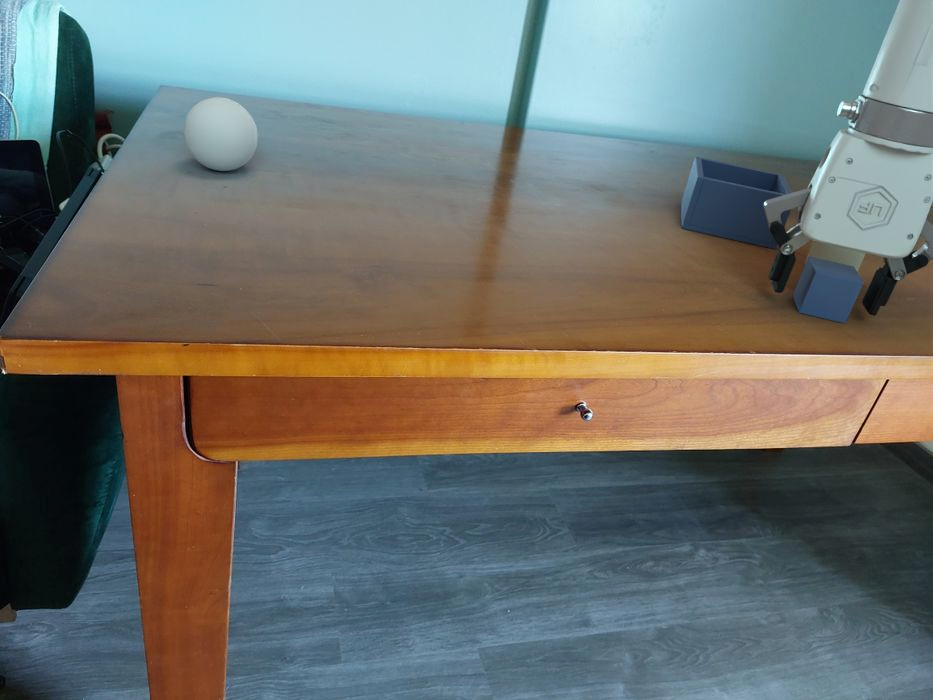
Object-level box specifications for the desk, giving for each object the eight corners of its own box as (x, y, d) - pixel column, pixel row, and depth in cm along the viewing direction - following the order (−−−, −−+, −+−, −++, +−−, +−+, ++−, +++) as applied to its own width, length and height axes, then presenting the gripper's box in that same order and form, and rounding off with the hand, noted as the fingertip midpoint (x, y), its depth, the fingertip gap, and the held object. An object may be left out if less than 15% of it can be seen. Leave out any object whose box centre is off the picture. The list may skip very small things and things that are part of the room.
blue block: (836, 305, 76) (854, 266, 74) (845, 323, 72) (864, 282, 70) (792, 295, 77) (808, 256, 74) (798, 312, 73) (815, 271, 71)
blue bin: (765, 222, 100) (783, 174, 96) (776, 249, 90) (795, 197, 86) (680, 203, 101) (695, 156, 98) (681, 228, 91) (697, 176, 88)
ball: (268, 167, 87) (269, 98, 84) (240, 185, 80) (240, 111, 77) (204, 154, 88) (202, 86, 84) (171, 171, 81) (167, 97, 77)
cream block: (843, 272, 86) (859, 236, 84) (851, 286, 82) (868, 249, 80) (804, 263, 87) (818, 227, 84) (810, 276, 83) (825, 239, 80)
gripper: (804, 112, 63) (737, 292, 72) (1017, 155, 61) (922, 336, 69) (792, 100, 70) (732, 266, 78) (984, 137, 67) (901, 305, 76)
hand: (822, 298), depth 74 cm, fingers open, 8 cm apart
